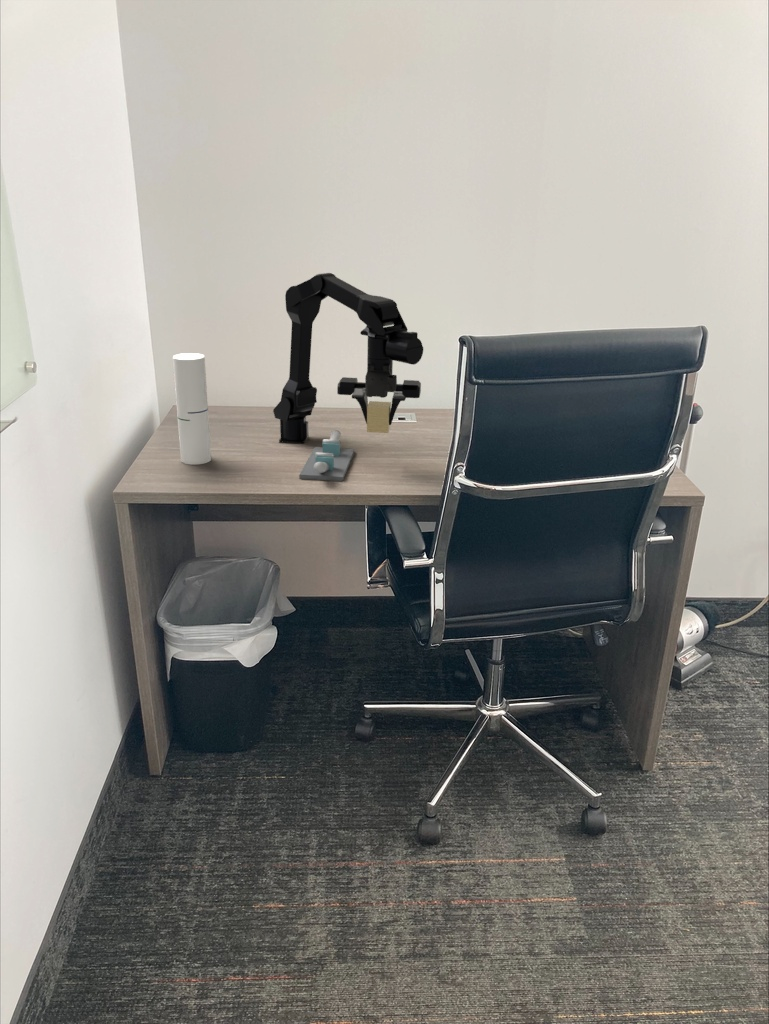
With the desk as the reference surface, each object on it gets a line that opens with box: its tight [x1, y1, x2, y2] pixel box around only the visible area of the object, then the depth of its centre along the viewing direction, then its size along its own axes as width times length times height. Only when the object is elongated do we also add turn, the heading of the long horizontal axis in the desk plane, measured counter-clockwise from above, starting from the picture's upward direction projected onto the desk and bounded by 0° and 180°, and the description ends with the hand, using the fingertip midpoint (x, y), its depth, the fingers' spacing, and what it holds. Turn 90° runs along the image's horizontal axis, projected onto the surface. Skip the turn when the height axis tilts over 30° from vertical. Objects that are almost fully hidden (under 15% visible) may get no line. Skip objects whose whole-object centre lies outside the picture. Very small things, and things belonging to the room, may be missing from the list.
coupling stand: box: [298, 429, 355, 482], centre depth 192 cm, size 10×26×5 cm, turn 175°
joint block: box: [366, 400, 392, 434], centre depth 187 cm, size 5×5×6 cm
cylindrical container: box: [172, 352, 212, 466], centre depth 190 cm, size 7×7×25 cm
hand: (378, 423), depth 188 cm, fingers closed on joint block, 5 cm apart
